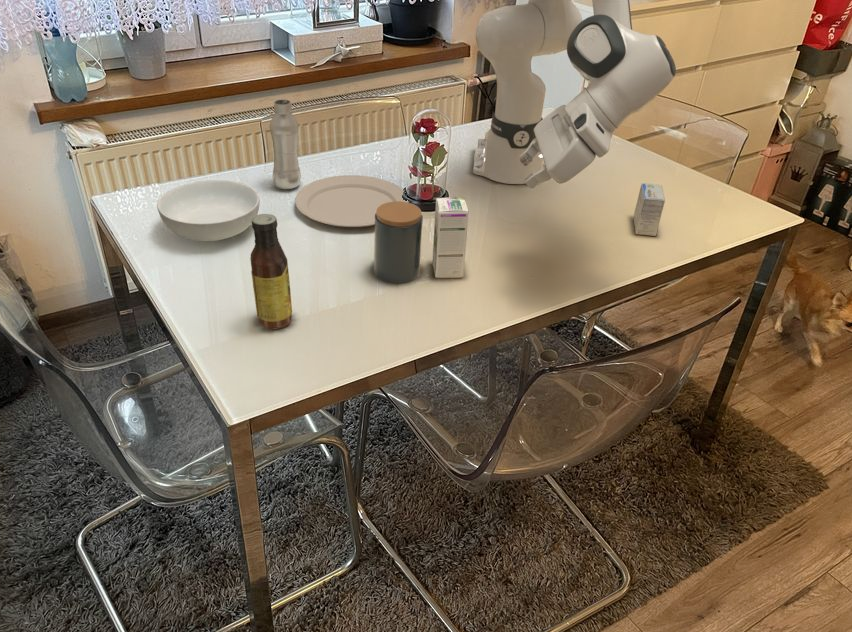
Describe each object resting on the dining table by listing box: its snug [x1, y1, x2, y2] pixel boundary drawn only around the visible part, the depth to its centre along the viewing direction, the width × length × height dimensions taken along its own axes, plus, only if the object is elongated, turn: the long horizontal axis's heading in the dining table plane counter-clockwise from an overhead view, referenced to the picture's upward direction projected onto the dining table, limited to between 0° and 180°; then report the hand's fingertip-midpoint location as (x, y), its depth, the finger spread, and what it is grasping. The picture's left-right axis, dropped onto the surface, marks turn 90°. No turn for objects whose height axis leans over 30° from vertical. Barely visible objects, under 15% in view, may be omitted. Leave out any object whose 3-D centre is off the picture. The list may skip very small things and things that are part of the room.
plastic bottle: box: [269, 99, 302, 190], centre depth 168 cm, size 6×7×20 cm
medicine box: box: [632, 182, 666, 237], centre depth 159 cm, size 8×4×9 cm, turn 168°
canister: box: [373, 201, 424, 284], centre depth 140 cm, size 9×9×13 cm
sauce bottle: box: [249, 213, 293, 330], centre depth 124 cm, size 7×6×20 cm
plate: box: [294, 174, 410, 228], centre depth 165 cm, size 26×26×2 cm
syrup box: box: [432, 196, 469, 279], centre depth 141 cm, size 6×6×14 cm
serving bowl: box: [156, 179, 261, 242], centre depth 154 cm, size 21×21×7 cm
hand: (524, 173), depth 133 cm, fingers open, 8 cm apart
